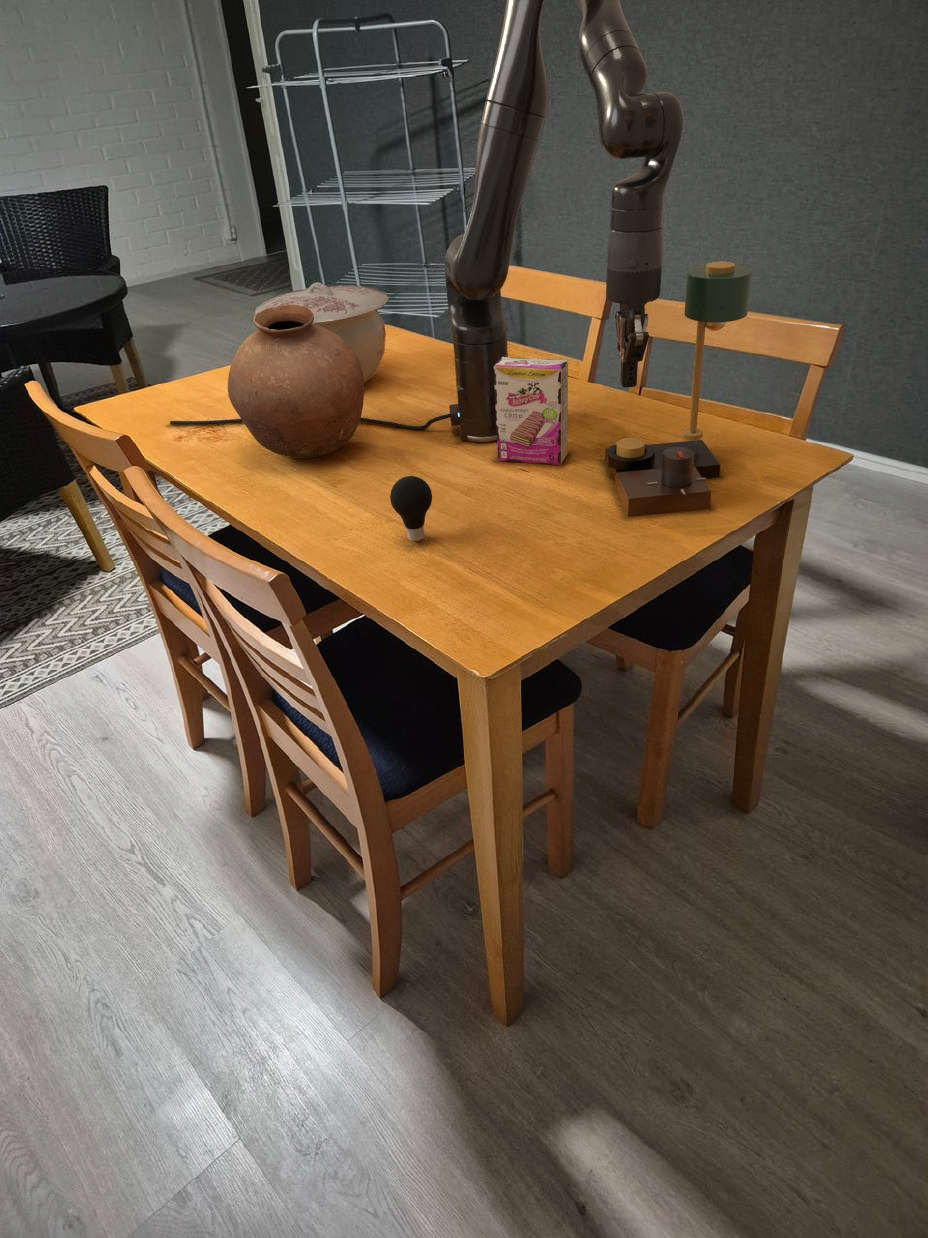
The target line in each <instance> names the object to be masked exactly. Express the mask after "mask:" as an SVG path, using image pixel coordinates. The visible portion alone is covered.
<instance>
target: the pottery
mask: <svg viewBox="0 0 928 1238" xmlns="http://www.w3.org/2000/svg"><path fill="white" fill-rule="evenodd" d="M313 321H314V313H313V312H312V311H311V310H310V309H309V308H307V307H304V306H300V305H295V304H291V305H279V306H276V307H269V308H267V309H264V310H262V311H260V312H258V313H257V314H256V315H255V314H254V315H253V318H252V322H253V325H254V326H255V328H257V330H256V331H255V332H252V333H251V334H250V335H249V336H248V337H247V338H246V339H245V340H244V341H243V342H242V344H241V345H240V346H239V347H238V349H237V351H236V352H235V354H234V356H233V358H232V361H231V365H230V367H229V371H228V377H227V395H228V399H229V401H230V404H231V406H232V407H233V409H234V411H235V412H236V413H237V415H238V416H239V419H242V421H243V422H242V423H243V424H244V426H245V427H246V428H247V429H248V431H249V433H250V434H251V436H252V437H253V438H254V439H255V440H256V442H257V443H259V445H260V446H262V447H263V448H265V449H266V450H268V451H270V452H272V453H274V454H277V455H280V456H282V457H287V458H293V459H311V458H318V457H322V456H325V455H328V454H330V453H333V452H334V451H337V450H339V449H340V448H342V447H343V446H345V445H346V444H348V443H349V442H350V441H351V439H353V437H354V435H355V433H356V431H357V429H358V427H359V424H360V419H361V418H362V413H363V408H364V401H365V400H364V399H365V383H364V381H363V373H362V368H361V364H360V361H359V358H358V356H357V355H356V353H355V352H354V350H353V349H352V348H351V347H350V346H349V344H348V343H347V342H345V341H344V340H343V339H342V338H341V337H339V336H338V335H336V334H335V333H333V332H331V331H329V330H327V329H325V328H323V327H321V326H318V325H315V324H312V323H313Z"/></svg>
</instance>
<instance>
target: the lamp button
mask: <svg viewBox="0 0 928 1238" xmlns="http://www.w3.org/2000/svg"><path fill="white" fill-rule="evenodd" d="M615 444H616V455H618V456H620V457H625V458H637V457H641V456H643V455H644V454H645V444H646V441H644V440H643V439H641V438H638V437H625V438H621V439H618V440H617V441H616V443H615Z"/></svg>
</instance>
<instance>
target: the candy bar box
mask: <svg viewBox="0 0 928 1238" xmlns="http://www.w3.org/2000/svg"><path fill="white" fill-rule="evenodd" d="M494 383H495V405H496V425H497V440H496V443H497V444H496V445H497V447H496V448H497V461H500V462H501V461H502V462H513V463H523V464H524V463H527V464H537V465H548V466H549V465H550V466H562V464H563V462H564V461H565V459H566V457H567V455H568V450H569V448H568V447H569V446H568V445H569V443H568V438H569V437H568V429H569V428H568V422H569V421H568V419H569V417H568V415H569V413H568V411H569V409H568V408H569V403H568V402H569V401H568V400H569V398H568V397H569V361H568V360H567V359H553V358H552V359H551V358H530V357H512V356H510V357H509V356H508V357H502V358H501V359H500V360H499V361H498V363H496V364H495V366H494Z"/></svg>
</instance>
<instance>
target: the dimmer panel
mask: <svg viewBox="0 0 928 1238" xmlns="http://www.w3.org/2000/svg"><path fill="white" fill-rule="evenodd" d="M661 479H662V468H660V469H650V470H639V471H628V472H617V473H616V483H615V492H616V495H617V497H618V499H619V500H620V503H621V505H622V507H623V509H624V511H625V514H626V516H627V518H629V517H641V516H652V515H661V514H662V515H663V514H672V513H673V514H674V513H684V512H695V511H705V510H707V511H708V510H710V509H711V498H712V490H711V489H710V486H709V485H708V484H707V482H706V481H705V480H707V479H706V478H702V477H701V475H700V474H699V472H698V471H697V469H696V468H695V466H694V465H693V476H692V483H691V484H690V485H689V486H686V487H681V488H674V487H669V486H666V485H664V484H663V483H662V481H661Z"/></svg>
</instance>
